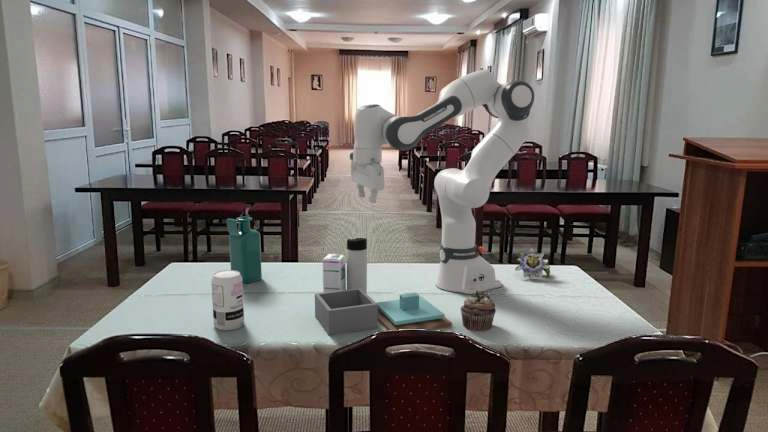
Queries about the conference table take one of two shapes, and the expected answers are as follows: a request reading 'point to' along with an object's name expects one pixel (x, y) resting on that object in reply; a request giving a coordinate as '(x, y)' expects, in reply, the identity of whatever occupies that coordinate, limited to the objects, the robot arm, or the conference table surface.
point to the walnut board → (416, 325)
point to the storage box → (345, 311)
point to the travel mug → (357, 264)
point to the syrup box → (334, 273)
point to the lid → (409, 309)
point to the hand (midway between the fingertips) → (367, 199)
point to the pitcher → (244, 249)
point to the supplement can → (227, 300)
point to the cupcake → (478, 312)
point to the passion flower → (533, 264)
